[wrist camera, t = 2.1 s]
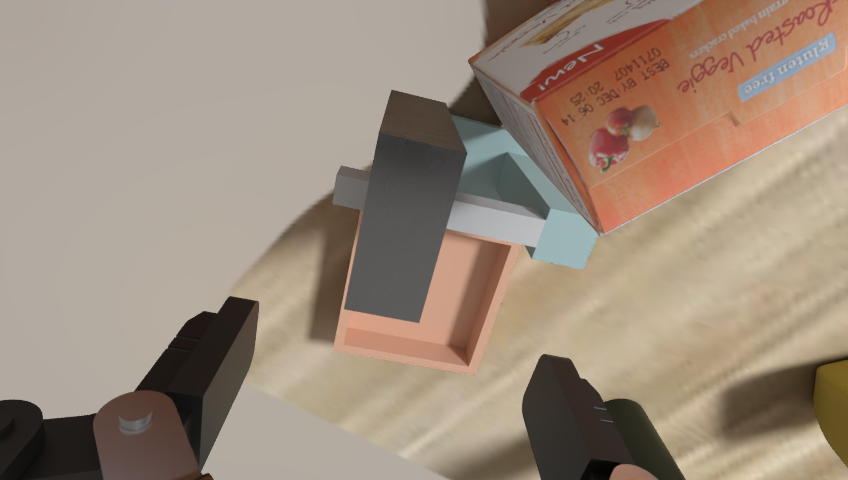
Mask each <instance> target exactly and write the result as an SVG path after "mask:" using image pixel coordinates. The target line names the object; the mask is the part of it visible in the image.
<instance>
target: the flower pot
mask: <svg viewBox="0 0 848 480" xmlns="http://www.w3.org/2000/svg"><path fill="white" fill-rule="evenodd" d="M813 404H814V409H815V413H816V417H817V420H818V423H819V425H820V428H821V430H822V432H823V434H824V436H825V438H826V440H827V441H828V443H829V444H830V446H831V447H832V449H833V450H834V451H835V453H836V454H837V455H838V456H839V458H840V459H841V460H842V461H843V462H844V464H845V465H846V466H847V467H848V360H844V361H839V362H835V363H830V364H826V365H822V366H819V367H818V368H817V370H816V379H815V389H814V397H813Z"/></svg>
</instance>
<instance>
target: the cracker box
mask: <svg viewBox="0 0 848 480" xmlns="http://www.w3.org/2000/svg"><path fill="white" fill-rule="evenodd" d="M468 62H469V64H470V66H471V68H472V70H473V71H474V73H475V75H476V77H477V79H478V81H479V83H480V85H481V87H482V88H483V90H484V92H485V94H486V96H487V98H488V99H489V101H490V103H491V105H492V107H493V108H494V110H495V112H496V114H497V116H498V117H499V119H500V121H501V123H502V125H503V126H504V127H505V129H506V130H507V131H508V132H509V133H510V135H511V136H512V137H513V138H514V140H515V141H516V142H517V143H518V144H519V145H520V146H521V148H522V149H523V150H524V151H525V152H526V153H527V155H528V156H529V157H530V158H531V159H532V160H533V161H534V163H535V164H536V165H537V166H538V167H539V168H540V169H541V171H542V172H543V173H544V174H545V175H546V176H547V177H548V179H549V180H550V181H551V182H552V183H553V184H554V185H555V187H556V188H557V189H558V190H559V191H560V192H561V193H562V194H563V195H564V197H565V198H566V199H567V200H568V201H569V202H570V203H571V204H572V205H573V206H574V207H575V208H576V210H577V211H578V212H579V213H580V214H581V216H582V217H583V218H584V219H585V220H586V221H587V222H588V223H589V224H590V226H591V227H592V228H593V229H594V230H595V232H596V233H597V234H598V235H599V236H603V235H605V234H607V233H609V232H611V231H613V230H615V229H616V228H618V227H620V226H622V225H624V224H626V223H628V222H630V221H632V220H634V219H635V218H637V217H639V216H641V215H643V214H645V213H647V212H648V211H650V210H652V209H654V208H656V207H658V206H660V205H662V204H663V203H665V202H667V201H669V200H671V199H673V198H675V197H676V196H678V195H680V194H682V193H684V192H686V191H688V190H690V189H692V188H693V187H695V186H697V185H699V184H701V183H703V182H705V181H707V180H708V179H710V178H712V177H714V176H716V175H718V174H720V173H722V172H723V171H725V170H727V169H729V168H731V167H733V166H735V165H737V164H738V163H740V162H742V161H744V160H746V159H748V158H750V157H752V156H753V155H755V154H757V153H759V152H761V151H763V150H765V149H767V148H768V147H770V146H772V145H774V144H776V143H778V142H780V141H782V140H783V139H785V138H787V137H789V136H791V135H793V134H795V133H796V132H798V131H800V130H802V129H804V128H806V127H807V126H809V125H811V124H813V123H815V122H817V121H818V120H820V119H822V118H824V117H826V116H828V115H829V114H831V113H833V112H835V111H837V110H839V109H841V108H842V107H844V106H846V105H848V0H557V1H556V2H554V3H553V4H551V5H550V6H548V7H547V8H545V9H543V10H542V11H540V12H539V13H537V14H536V15H534V16H533V17H531V18H530V19H528V20H527V21H525V22H524V23H522V24H521V25H519V26H518V27H516V28H515V29H513V30H512V31H510V32H509V33H507V34H506V35H504V36H503V37H501V38H500V39H498V40H497V41H495V42H494V43H492V44H491V45H489V46H488V47H486V48H485V49H483V50H482V51H480V52H479V53H477V54H476V55H474V56H473V57H472V58H470V59H469V60H468Z"/></svg>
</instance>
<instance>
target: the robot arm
mask: <svg viewBox="0 0 848 480" xmlns="http://www.w3.org/2000/svg"><path fill="white" fill-rule="evenodd" d="M258 312H259V302H258V301H254V300H248V299H243V298H237V297H232V296H230V297H228V299H227V300H226V301H225V303H224V304H223V306H222V307H221V309H220V310H219V312H218V313H211V312H206V311H203V312H202V313H200V314H198V315H197V316H195V317H193V318H192V319H190V320H188V321H187V322H186V323H185V325H184V326H183V327H182V328H181V330H180V331H179V332H178V334H177V336H176V338H174V339H173V341H172V342H171V343H170V345H169V346H168V349H166V350H165V351H164V352H163V354H162V355H161V356H160V358H159V359H158V360H157V362H156V363H155V364H154V366H153V367H152V368H151V370H150V371H149V372H148V374H147V375H146V376H145V378H144V379H143V380H142V381H141V383H140V384H139V385H138V387H137V388H136V389H135V391H134V392H130V393H126V394H123V395H121V396H118V397H116V398H114V399H112V400H111V401H109V402H108V403H106V404H105V405H104V406H103V407H102V408H101V409H100V410H99V411H98V413H95V414H91V415H84V416H76V417H65V418H54V419H44V420H43V415H42V412H41V410H40V408H39V407H37V406H36V405H35V404H33V403H31V402H28V401H23V400H2V401H0V480H214V479H213V478H212V476H211V475H210V474H209V473H207V474H204V475H202V473H201V470H202V468H203V466H204V464H205V462H206V460H207V458H208V455H209V453H210V451H211V449H212V447H213V445H214V443H215V441H216V438H217V436H218V434H219V432H220V430H221V428H222V426H223V423H224V421H225V419H226V417H227V415H228V413H229V411H230V409H231V407H232V404H233V402H234V400H235V398H236V396H237V394H238V391H239V389H240V387H241V385H242V383H243V381H244V379H245V377H246V375H247V372H248V370H249V368H250V365H251V361H252V358H253V354H254V348H255V340H256V331H257V322H258ZM606 409H607V408H606V406H605V404H604V402H603V400H602V398H601V396H600V394H599V393H598V392H597V391H596V390H595V389H594V388H593V387H592V386H591V385H590V383H589V382H588V381H587V380H586V379H581V378H580V377H579V374H578V372H577V370H576V368H575V366H574V364H573V362H572V361H571V359H569V358H564V357H558V356H553V355H547V354H543V355H542V356H541V357H540V359H539V361H538V363H537V365H536V368H535V370H534V372H533V375H532V377H531V379H530V382H529V384H528V386H527V389H526V391H525V394H524V397H523V403H522V414H523V418H524V422H525V425H526V429H527V432H528V436H529V439H530V443H531V446H532V449H533V453H534V456H535V460H536V463H537V467H538V470H539V474H540V477H541V480H658V479H657V478H656V477H655V476H654V475H652V474H651V473H649V472H648V471H646V470H644V469H642V468H640V467H638V466H636V464H635V462H634V461H633V459H632V457H631V455H630V453H629V451H628V449H627V447H626V445H625V443H624V441H623V439H622V437H621V435H620V433H619V431H618V429H617V428H616V426H615V424H613V420H612V418H611V416H610V414H609V412H608V411H606Z"/></svg>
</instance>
